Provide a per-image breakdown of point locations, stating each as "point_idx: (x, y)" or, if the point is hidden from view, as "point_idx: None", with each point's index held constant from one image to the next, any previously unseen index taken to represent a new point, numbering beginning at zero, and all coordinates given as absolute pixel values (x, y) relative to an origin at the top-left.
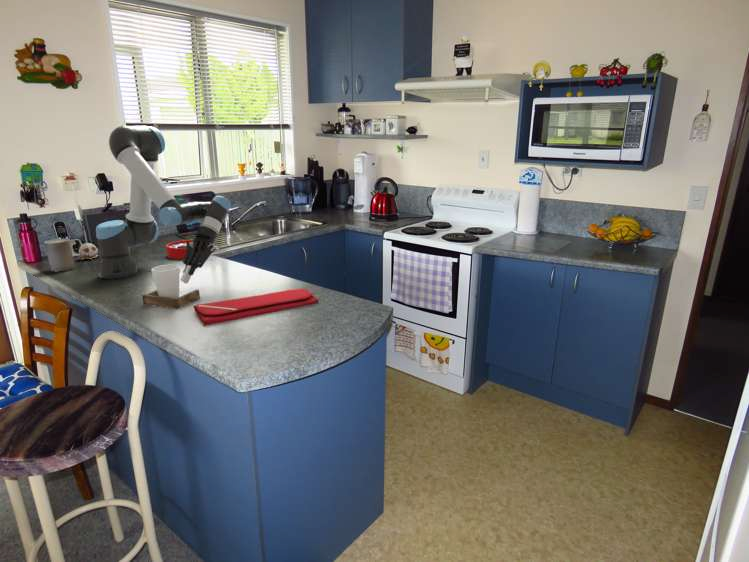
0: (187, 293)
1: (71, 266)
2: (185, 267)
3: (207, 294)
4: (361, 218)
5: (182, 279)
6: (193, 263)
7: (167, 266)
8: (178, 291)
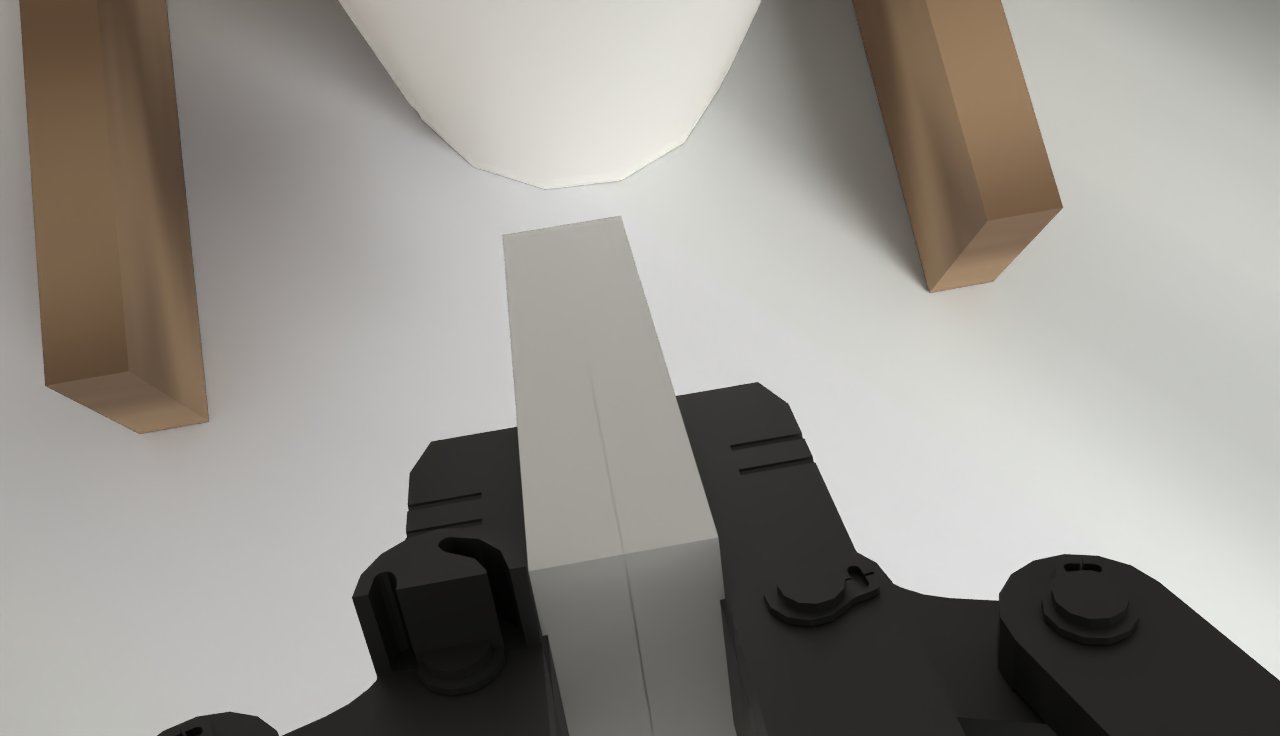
0: (97, 69)
1: None
2: (826, 519)
3: None
4: None
5: (550, 234)
6: (430, 706)
7: None
8: (350, 13)
